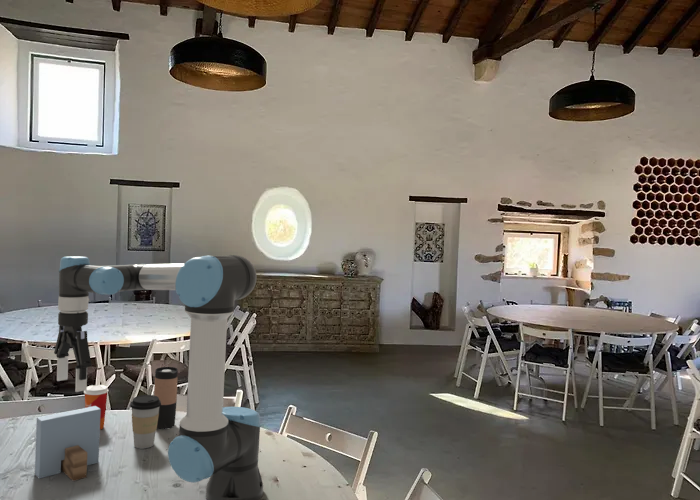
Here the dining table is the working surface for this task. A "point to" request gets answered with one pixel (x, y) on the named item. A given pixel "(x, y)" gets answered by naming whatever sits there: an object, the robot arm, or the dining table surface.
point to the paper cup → (97, 400)
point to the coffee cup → (145, 419)
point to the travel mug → (166, 395)
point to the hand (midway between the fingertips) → (71, 385)
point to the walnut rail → (75, 463)
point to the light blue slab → (66, 438)
